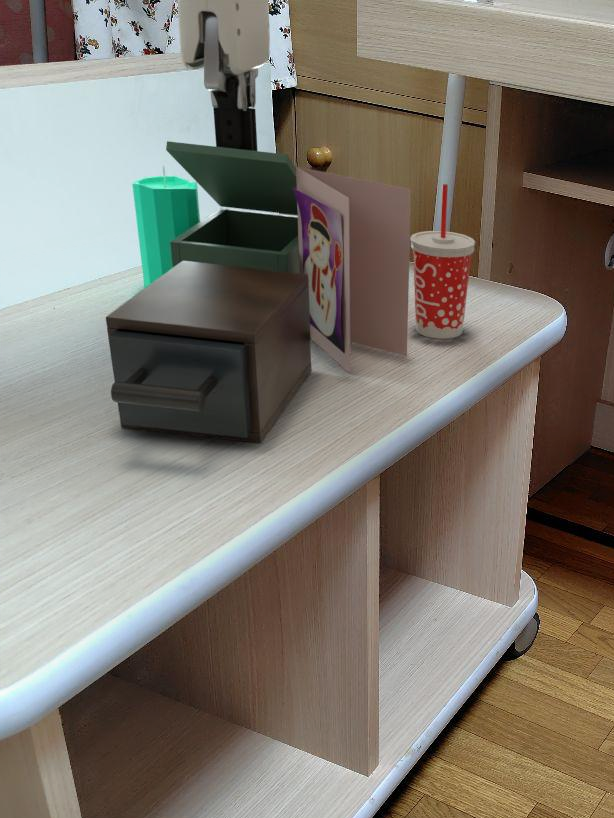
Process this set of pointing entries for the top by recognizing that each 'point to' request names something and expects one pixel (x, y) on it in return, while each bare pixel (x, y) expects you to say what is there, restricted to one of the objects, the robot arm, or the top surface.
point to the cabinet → (233, 327)
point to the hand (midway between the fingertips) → (237, 155)
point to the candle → (162, 219)
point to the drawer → (181, 383)
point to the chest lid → (240, 176)
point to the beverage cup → (441, 278)
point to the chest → (241, 241)
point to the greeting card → (354, 261)
